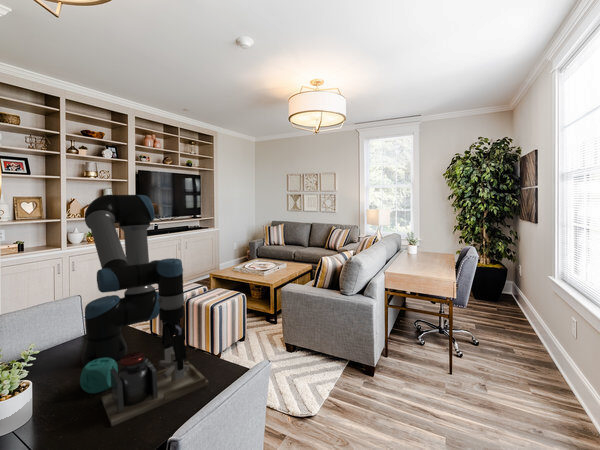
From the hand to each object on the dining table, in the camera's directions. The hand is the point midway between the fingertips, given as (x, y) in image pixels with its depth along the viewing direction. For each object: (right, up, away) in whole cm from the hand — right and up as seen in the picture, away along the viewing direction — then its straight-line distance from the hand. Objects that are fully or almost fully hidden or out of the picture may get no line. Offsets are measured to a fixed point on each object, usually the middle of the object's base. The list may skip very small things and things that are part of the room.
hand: (174, 372), depth 101 cm
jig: (-4, -5, -3) cm, 7 cm away
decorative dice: (-25, -5, 0) cm, 25 cm away
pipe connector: (0, -3, +1) cm, 3 cm away
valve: (-9, -5, -8) cm, 13 cm away
